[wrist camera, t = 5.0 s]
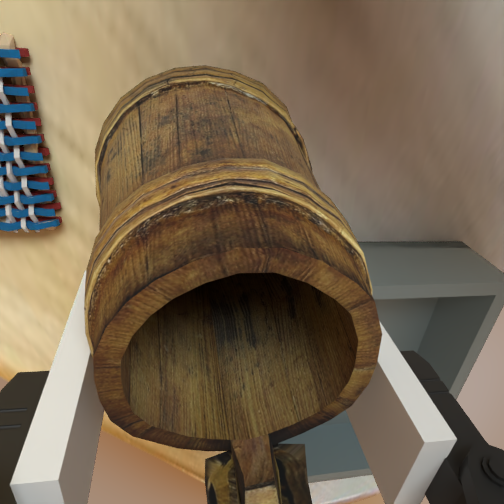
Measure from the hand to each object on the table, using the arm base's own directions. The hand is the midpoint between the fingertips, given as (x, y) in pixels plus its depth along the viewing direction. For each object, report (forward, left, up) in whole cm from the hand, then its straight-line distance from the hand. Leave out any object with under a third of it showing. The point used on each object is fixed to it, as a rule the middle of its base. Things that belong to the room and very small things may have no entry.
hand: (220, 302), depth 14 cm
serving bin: (+14, +13, -12) cm, 23 cm away
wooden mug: (0, 0, -6) cm, 6 cm away
